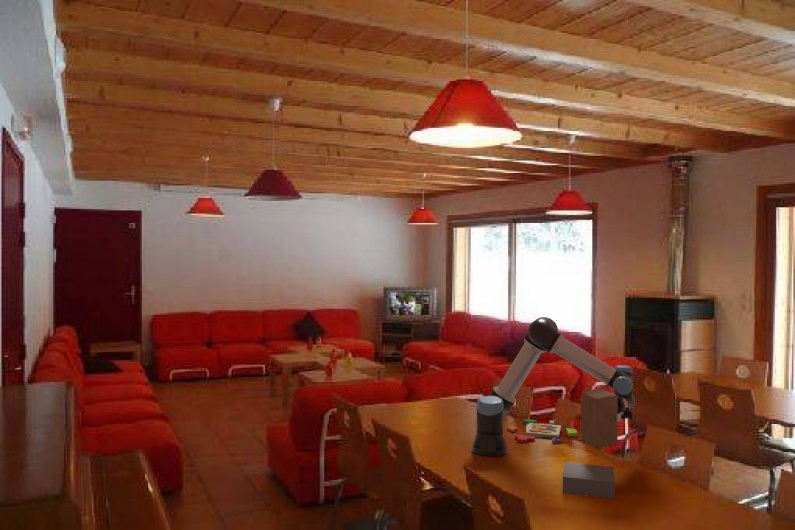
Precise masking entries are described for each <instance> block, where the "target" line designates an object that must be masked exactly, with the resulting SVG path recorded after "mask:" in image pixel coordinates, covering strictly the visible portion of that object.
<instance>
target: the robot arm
mask: <svg viewBox="0 0 795 530" xmlns="http://www.w3.org/2000/svg"><path fill="white" fill-rule="evenodd" d="M523 340H524V343H523V345H522V346H521V348H520V350H519V352H518V353H517V355H516V356H515V358H514V360H513V361H512V363H511V365H510V366H509V368H508V369H507V371H506V373H505V374H504V377H503V378H502V379H501V381H500V382H499V384H498V386H493V388H492V389H491V391H490V393H489V394H488V395H484V396H480V397H479V398H478V399H477V401H476V434H475V437H474V439H473V443H472V447H471V448H472V450H471V451H472V452H473V453H474V454H476V455H479V456H484V457H500V456H501V457H502V456H504V455H506V454H507V453H508V446H507V444H506V440H505V437H504V419H505V418H507V417H508V415H509V413H511V409H512V408H513V407H514V405H515V403H516V398H515V396H516V395H517V393H518V392H519V390H520V388H521V386H522V385H523V383H524V382H525V380H526V378H527V377H528V376H529V374H530V372H531V370H532V369H533V367H534V366H535V364H536V363H537V361H538V360H539V358H540V356H541V355H542V354H543V353H546V352H547V353H550V354H552V353H554V354H556V355H558V356H559V357H561V358H562V359H564V360H565V361H567V362H569V363H570V364H572V365H574V366H576V367H577V368H579V369H580V370H582V371H584V372H585V373H587V375H590V376H592V377H593V378H594V379H597V380H598V381H600V382H602V383H603V384H605V385H606V386H607V387H609V388H611V389H613V394H615V395H617V396H618V414H617V422H618V423H619V422H621V421H623V420H626V419H628V420H632V419H633V412H632V411H631V410H632V408H633V407H634V405H635V403H636V402H635V401H636V399H635V396H634V395H633V388H634V383H633V381H634V379H633V377H634V376H633V375H634V371H633V367H632V366H629V365H622V364H621V365H619V364H618V365H615V366H614V367H612V366H611V365H610V364H608V363H606V362H604V360H603V361H602V360H601V359H599V358H598V357H596V356H594V355H593V354H591V353H589V352H588V351H586V350H585V349H583V348H582V347H580V346H578V345H576V344H575V343H573V342H571V341H570V340H568V339H567V338H565V337H564V336H563V333H561V332H560V331H559V329H558V325H557V323H556V322H555V321H554V319H551V318H550V317H546V316H542V317H538V318H536V319H535V320H533V321H532V322H531V323H530V324H529V326H528V328H527V332H526V334H525V336H524V337H523Z"/></svg>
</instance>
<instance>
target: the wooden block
mask: <svg viewBox="0 0 795 530" xmlns="http://www.w3.org/2000/svg"><path fill="white" fill-rule="evenodd" d="M580 395H581V400H580V401H581V402H580V404H581V405H580V413H581V416H580V417H581V419H580V420H581V421H580V422H581V427H580V428H581V431H580V432H581V441H583V442H584V443H586V444H587V445H590V446H591V447H593V448H594V449H601V448H606V447H612V446H617V445H618V434H619V433H618V430H619V429H618V425H619V422H617V414H618V396H617V395H615V394H614V392H613V393H612V392H611V391H608V390H606V389H604V388H600V389H599V388H598V389H591V390H586V391H581V394H580Z"/></svg>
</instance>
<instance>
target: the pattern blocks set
mask: <svg viewBox="0 0 795 530" xmlns="http://www.w3.org/2000/svg"><path fill="white" fill-rule="evenodd" d="M554 421H555V420H549V423H540V422H539V423H538V420H536V419H522V424H523V423H527V424H526V425H527V426H526V425H525V426H526V434H525V435H524V434H515V436H514V440H516V439H517V440H516V442H517V441H518V442H517V443H519V442H521V443H520V444H527V443H528V442H527V441H533V442H534V441H535V440H536V439H535V438H538V437H551V438H550V439H552V440H551V441H552V442H551V444H552V443H556V444H563V439H560V433H561V430H562V429H561V428H562V425H561V424H560V425H554ZM506 429H507V430H509V431H511V432H514V431H517V430H518V431H519V428H518V427H517V426H515V425H514V424H513V425H509V426H507V427H506ZM507 430H506V431H507ZM509 431H508V432H509ZM518 431H517V432H518ZM511 432H510V433H511ZM514 433H515V432H514ZM565 433H566V434H567V436H568V438H571V437H578V431H577V429H574V428H567V427H565ZM533 436H534V437H533ZM556 438H559V439H556ZM526 442H527V443H526Z"/></svg>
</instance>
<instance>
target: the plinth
mask: <svg viewBox="0 0 795 530" xmlns="http://www.w3.org/2000/svg"><path fill="white" fill-rule="evenodd" d="M614 470H615V469H614V467H613V466H609V465H608V466H607V465H598V464H597V465H596V464H588V463H577V462H565V461H564V464H563V471H562V472H563V473H562V494H565V495H575V496H582V495H587V496H586V497H591V496H597V497H596V498H600V497H605V498H604V499H609V498H615V499H616V495H615V494H616V479H615V471H614Z"/></svg>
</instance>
